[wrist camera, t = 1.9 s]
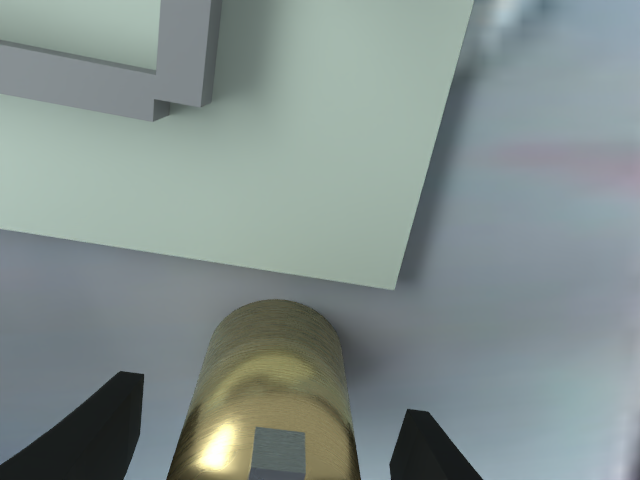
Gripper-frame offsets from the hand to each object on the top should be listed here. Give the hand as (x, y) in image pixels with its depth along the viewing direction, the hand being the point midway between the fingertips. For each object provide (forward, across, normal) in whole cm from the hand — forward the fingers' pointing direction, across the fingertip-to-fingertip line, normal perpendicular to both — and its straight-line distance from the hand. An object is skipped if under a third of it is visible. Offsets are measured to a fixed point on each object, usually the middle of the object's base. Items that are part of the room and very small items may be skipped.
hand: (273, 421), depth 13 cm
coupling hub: (+3, 0, 0) cm, 3 cm away
